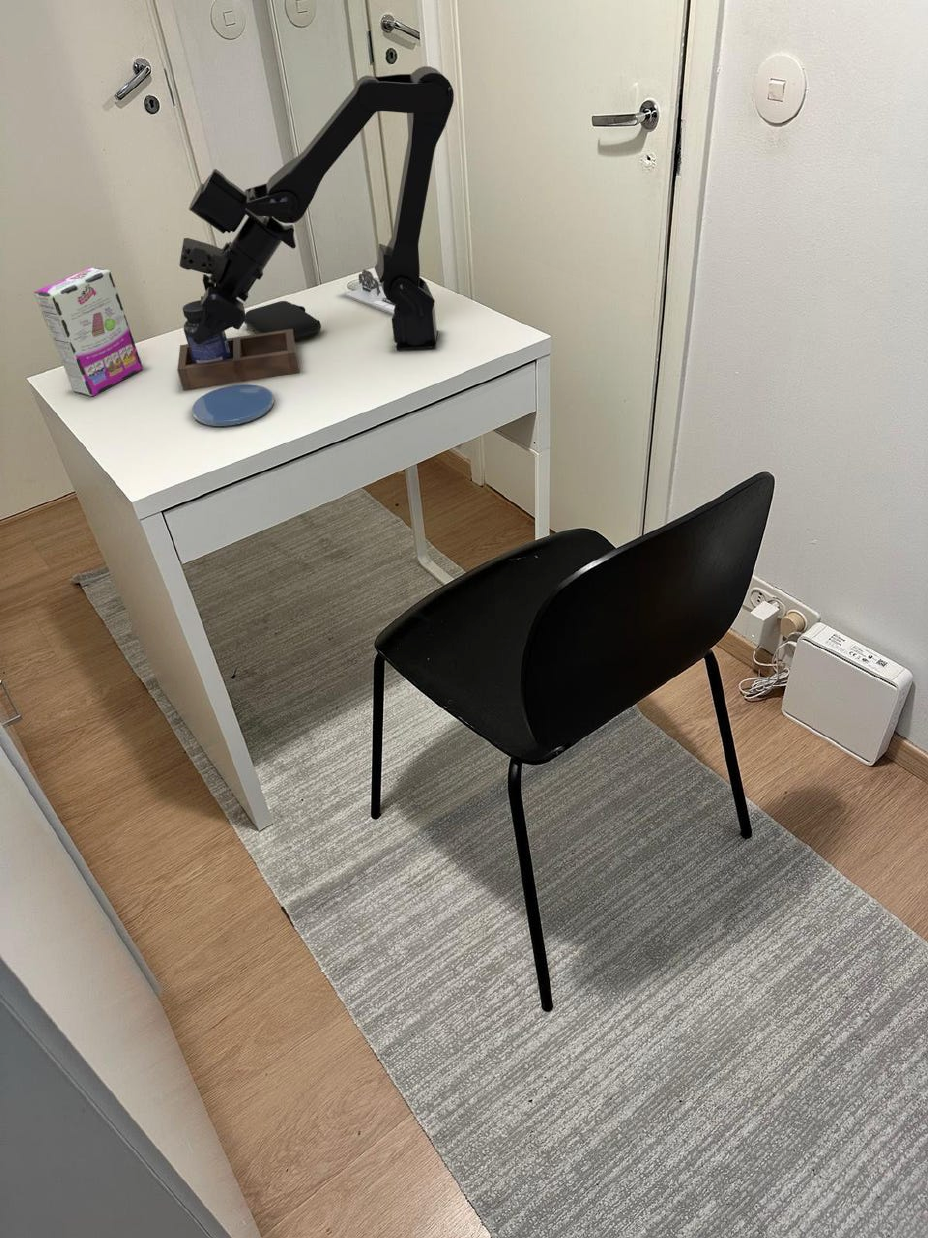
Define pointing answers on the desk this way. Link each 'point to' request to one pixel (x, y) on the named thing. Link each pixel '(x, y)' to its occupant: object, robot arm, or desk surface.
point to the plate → (233, 405)
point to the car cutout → (371, 293)
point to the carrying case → (283, 320)
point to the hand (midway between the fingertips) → (196, 334)
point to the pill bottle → (208, 349)
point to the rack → (242, 361)
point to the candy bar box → (89, 330)
